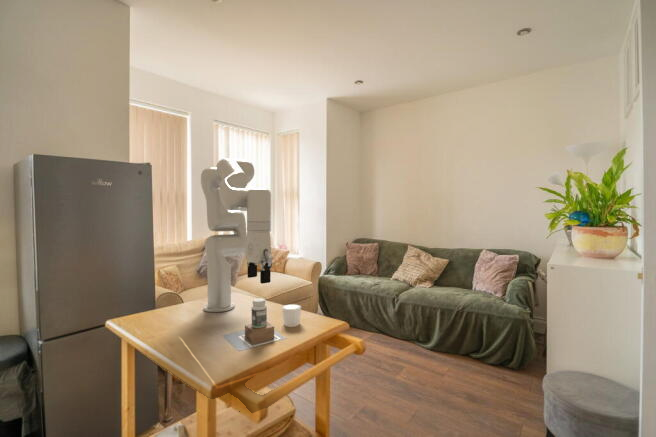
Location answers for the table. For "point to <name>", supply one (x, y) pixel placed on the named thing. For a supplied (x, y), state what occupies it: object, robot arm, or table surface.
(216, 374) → the table surface
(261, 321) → the pill bottle
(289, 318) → the white cylinder
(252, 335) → the walnut base block
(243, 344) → the blueprint board
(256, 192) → the robot arm
